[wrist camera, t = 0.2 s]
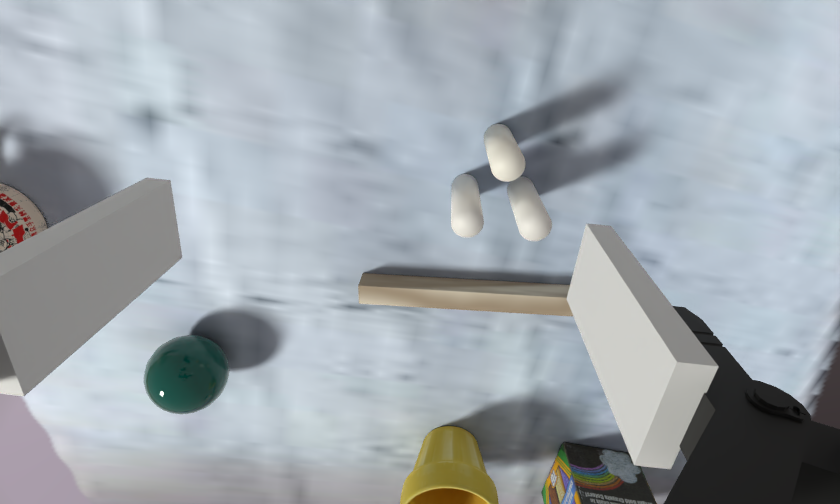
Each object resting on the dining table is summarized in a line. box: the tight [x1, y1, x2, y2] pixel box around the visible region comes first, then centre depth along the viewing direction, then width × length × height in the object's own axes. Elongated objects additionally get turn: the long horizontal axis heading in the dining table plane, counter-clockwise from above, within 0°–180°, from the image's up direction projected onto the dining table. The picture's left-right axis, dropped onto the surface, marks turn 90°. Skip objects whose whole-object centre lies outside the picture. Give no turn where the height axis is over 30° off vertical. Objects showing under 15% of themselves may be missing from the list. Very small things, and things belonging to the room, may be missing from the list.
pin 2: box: [507, 177, 552, 241], centre depth 39 cm, size 2×2×8 cm
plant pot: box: [400, 426, 498, 504], centre depth 53 cm, size 10×10×10 cm
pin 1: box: [451, 174, 484, 238], centre depth 39 cm, size 2×2×8 cm
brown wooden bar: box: [358, 273, 573, 316], centre depth 46 cm, size 2×24×2 cm, turn 88°
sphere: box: [144, 335, 229, 414], centre depth 49 cm, size 8×8×8 cm
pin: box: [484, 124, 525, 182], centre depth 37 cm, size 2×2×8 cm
